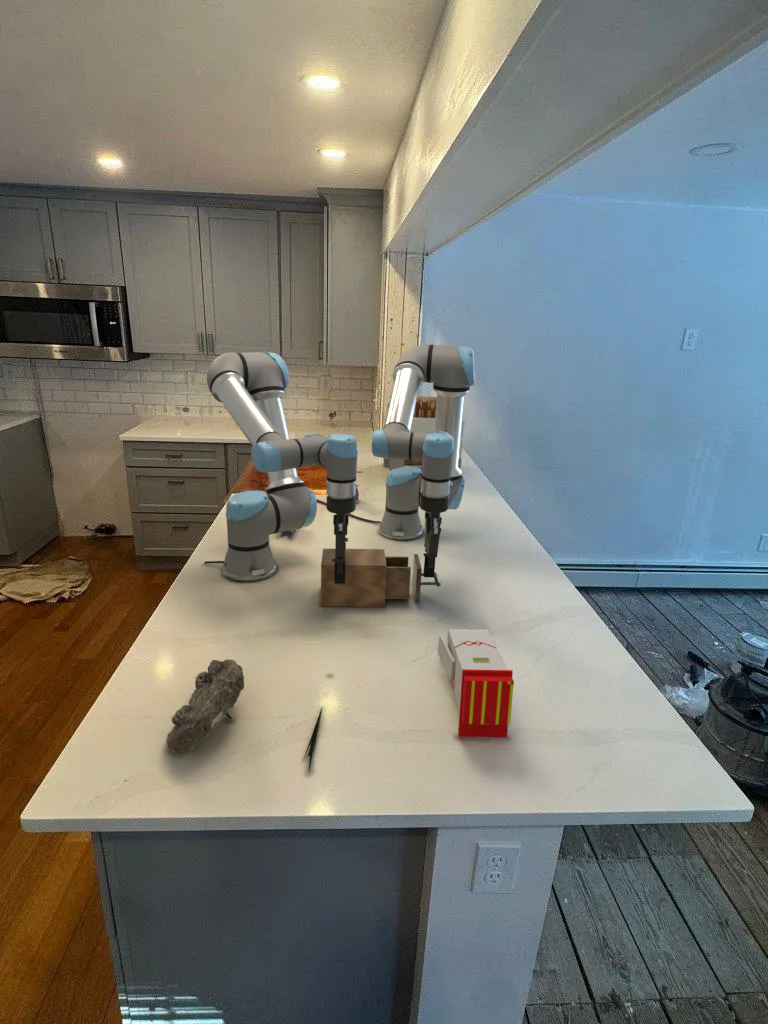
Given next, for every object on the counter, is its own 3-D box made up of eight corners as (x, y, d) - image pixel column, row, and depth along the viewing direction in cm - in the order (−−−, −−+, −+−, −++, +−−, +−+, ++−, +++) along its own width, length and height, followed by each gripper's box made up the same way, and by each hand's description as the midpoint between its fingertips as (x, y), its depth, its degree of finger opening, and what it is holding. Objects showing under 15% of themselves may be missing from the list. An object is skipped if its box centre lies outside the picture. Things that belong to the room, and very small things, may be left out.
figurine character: (295, 542, 192) (300, 522, 205) (294, 523, 188) (300, 503, 202) (275, 542, 191) (282, 521, 205) (274, 522, 188) (281, 502, 201)
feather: (331, 679, 122) (336, 673, 122) (307, 777, 96) (313, 769, 95) (324, 675, 122) (329, 669, 121) (298, 772, 95) (304, 764, 95)
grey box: (382, 463, 289) (386, 382, 275) (445, 464, 293) (451, 384, 279) (390, 482, 257) (394, 392, 243) (460, 483, 261) (468, 394, 247)
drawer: (435, 586, 160) (437, 554, 157) (440, 602, 152) (442, 568, 148) (361, 585, 159) (362, 553, 156) (361, 601, 150) (362, 567, 147)
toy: (488, 613, 130) (523, 677, 101) (484, 667, 133) (517, 744, 104) (435, 612, 130) (455, 676, 101) (432, 666, 133) (451, 743, 103)
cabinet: (382, 588, 160) (384, 549, 156) (384, 606, 151) (386, 565, 147) (323, 587, 159) (323, 548, 155) (321, 606, 150) (321, 564, 146)
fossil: (192, 660, 117) (244, 628, 112) (224, 691, 120) (276, 661, 115) (142, 746, 98) (202, 712, 93) (182, 779, 101) (242, 748, 96)
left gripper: (356, 511, 134) (354, 594, 142) (355, 482, 156) (354, 555, 163) (324, 510, 134) (324, 593, 141) (328, 482, 155) (327, 555, 163)
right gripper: (453, 503, 140) (445, 587, 149) (445, 486, 152) (438, 565, 161) (423, 502, 140) (417, 587, 148) (417, 486, 152) (412, 565, 160)
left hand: (340, 573), depth 152 cm, fingers closed on cabinet, 10 cm apart
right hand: (428, 576), depth 154 cm, fingers closed
